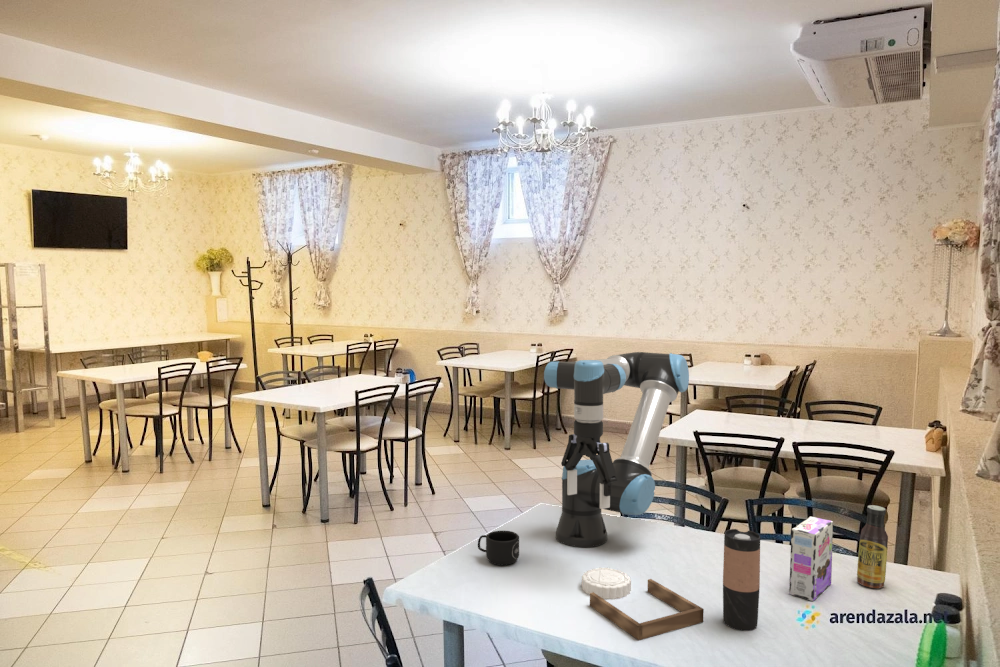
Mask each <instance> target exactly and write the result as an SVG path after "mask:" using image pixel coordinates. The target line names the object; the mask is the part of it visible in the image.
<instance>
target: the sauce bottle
mask: <svg viewBox="0 0 1000 667" xmlns="http://www.w3.org/2000/svg"><path fill="white" fill-rule="evenodd" d="M866 512H867V518H866V523H865V524H864V526H863V527H862V528H861V531H860V537H859V538H860V539H859V545H858V546H859V547H858V558H857V571H856V572H857V573H856V575H857V576H856V578H857V579H856V581H857V583H858V584H859V585H861V586H863V587H865V588H871V589H875V590H879V589H881V588H884V586H885V582H886V572H887V561H888V560H887V559H888V558H887V557H888V542H889V535H888V533H887V532H886V529H885V515H886V513H887V512H886V508H885V507H883V506H879V505H874V504H872V505H871V504H869V505H867V508H866Z"/></svg>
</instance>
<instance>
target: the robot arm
mask: <svg viewBox="0 0 1000 667" xmlns="http://www.w3.org/2000/svg"><path fill="white" fill-rule="evenodd" d="M543 379H544V383H545V385H547V387H549V388H555V389H557V390H558V389H564V390H573V397H574V399H573V404H574V405H573V418H574V421H573V434H569V435H568V441H567V444H566V449H565V451H564V453H563V457H562V459H561V460H562V461H561V464H560V465H561V467H562V474H561V476H562V477H561V515H560V518H559V520H558V523H557V527H556V530H555V538H556V540H557V541H558V542H559V543H561V544H563V545H566V546H570V547H577V548H591V547H592V548H595V547H597V546H601V545H604V544H605V543H607V541H608V531H607V528H606V524H605V521H604V518H603V514H602V510H607V511H610V512H616V513H620V514H623V515H625V516H626V515H632V516H640V515H642V514H644V513H646V511H647V510H649V508H650V507H651V505H652V502H653V500H654V496H655V490H656V482H655V479H654V478H653V477H652V476H653V472H652V471H651V469H650V468H649V467H650V465H651V462H652V458H653V455H654V452H655V450H656V446H657V443H658V440H659V437H660V433H661V431H662V428H663V424H664V421H665V419H666V416H667V412H668V408H669V405H670V403H671V402H674V401H676V400H677V397H678V394H679V393H684V392H686V391H687V390H688V387H689V383H690V382H689V380H690V372H689V366H688V362H687V359H686V358H685V357H684V356H683V355H681V354H675V353H672V352H669V353H660V352H659V353H658V352H646V351H645V352H644V351H634V352H633V351H632V352H628V353H627V352H626V353H619V354H614V355H613V354H612V355H610V356H608V357H607V358H604V359H603V358H602V359H601V358H600V359H585V360H584V359H581V360H576V361H559V360H558V361H549V362H548V363H547V364H546V366H545V368H544V371H543ZM623 387H632V388H635V389H640V391H641V393H642V395H641V397H640V399H639V403H638V406H637V408H636V411H635V414H634V417H633V420H632V422H631V425H630V428H629V432H628V434H627V437H626V439H625V440H626V441H625V443H624V446H623V449H622V451H621V454H620V457H618V458H615V459H612V455H611V452H610V443H609V442H601V437H602V436H603V435H604V422H603V419H604V395H605V394H606V395H607V394H609V393H615V392H617V391H619V390H621V389H622V388H623ZM584 456H586V457H587V458H589V459H582V458H583V457H584Z"/></svg>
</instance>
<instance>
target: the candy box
mask: <svg viewBox="0 0 1000 667" xmlns="http://www.w3.org/2000/svg"><path fill="white" fill-rule="evenodd" d="M833 527H834V521H832V520H829V519H824V518H821V517H816V516H809V517H807V519H804V520H803V521H802V522H800V523H799V524H798V525H796V526H795V527H793V528H791V533H790V535H791V536H790V538H791V539H790V563H789V565H790V567H789V589H788V590H789V593H788V594H789V595H791V596H795V597H798V598H802V599H804V600H807V601H811V602H814V601H815V600H816V599H817V598H818V597H819V596H820V595H821V594H823V592H824V591H825V590H827V589H828V588H829V586H830V585H832V569H833V568H832V567H833V566H832V564H833V536H834V534H833V533H834V530H833V529H834V528H833Z"/></svg>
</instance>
